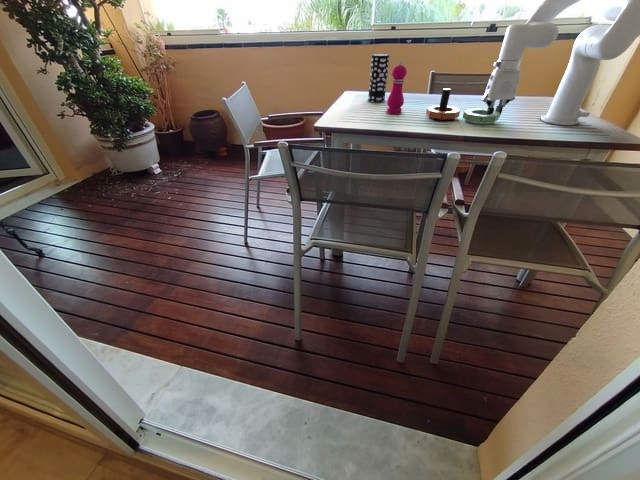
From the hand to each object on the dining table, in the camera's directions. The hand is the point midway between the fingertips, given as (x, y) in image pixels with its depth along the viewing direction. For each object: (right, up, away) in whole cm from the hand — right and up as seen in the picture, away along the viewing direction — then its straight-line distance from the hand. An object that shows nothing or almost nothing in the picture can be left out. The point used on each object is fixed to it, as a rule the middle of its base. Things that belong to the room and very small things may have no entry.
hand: (492, 116), depth 120 cm
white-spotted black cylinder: (-41, +21, +32) cm, 57 cm away
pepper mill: (-37, +7, +13) cm, 40 cm away
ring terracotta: (-19, +3, +5) cm, 19 cm away
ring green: (-5, -1, 0) cm, 5 cm away
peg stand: (-19, +2, +6) cm, 20 cm away
